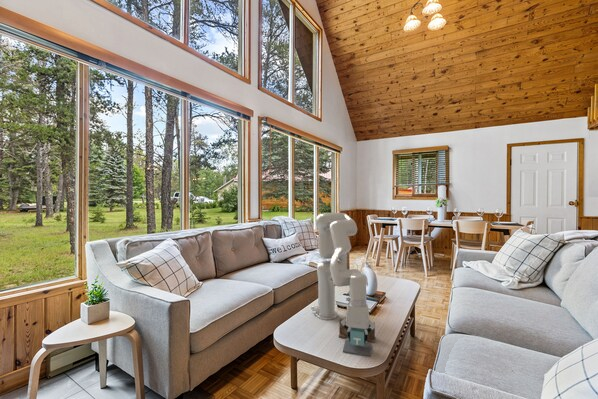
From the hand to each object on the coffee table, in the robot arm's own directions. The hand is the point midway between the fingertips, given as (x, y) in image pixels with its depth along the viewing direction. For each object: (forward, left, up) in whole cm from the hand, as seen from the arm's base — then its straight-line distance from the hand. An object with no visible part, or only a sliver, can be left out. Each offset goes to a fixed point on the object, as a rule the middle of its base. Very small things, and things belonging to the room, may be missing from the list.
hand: (357, 340), depth 127 cm
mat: (0, 0, -4) cm, 4 cm away
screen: (-1, +10, -4) cm, 11 cm away
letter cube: (0, 0, -1) cm, 1 cm away
